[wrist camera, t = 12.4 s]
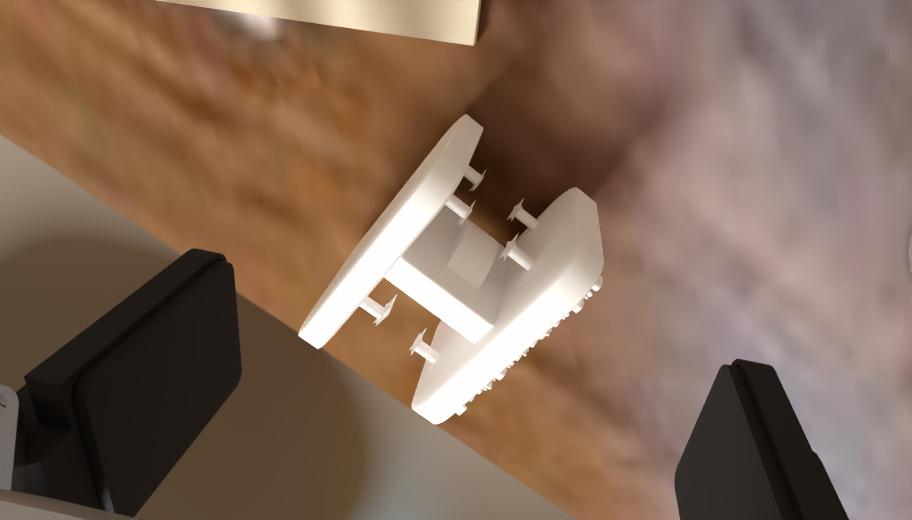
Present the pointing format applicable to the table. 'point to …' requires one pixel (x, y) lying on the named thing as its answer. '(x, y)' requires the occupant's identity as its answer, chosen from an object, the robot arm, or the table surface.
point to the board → (370, 15)
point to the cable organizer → (466, 276)
